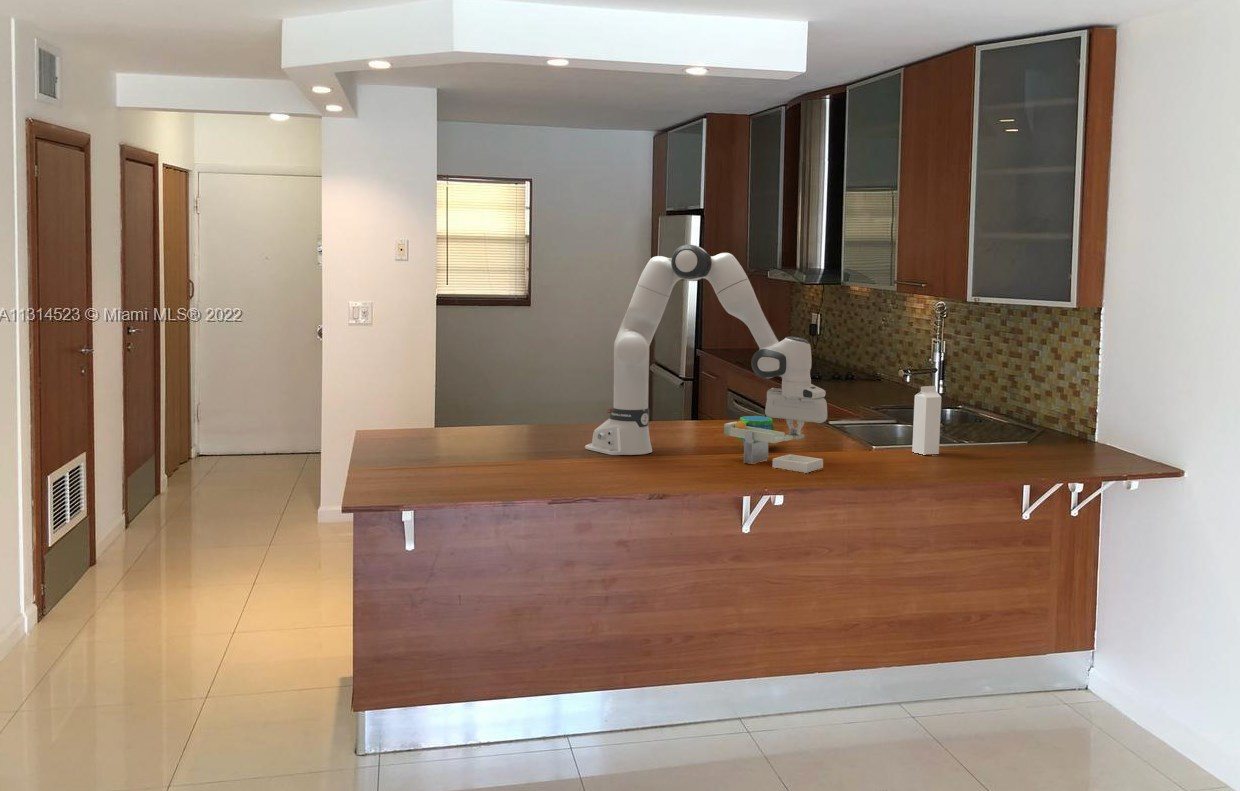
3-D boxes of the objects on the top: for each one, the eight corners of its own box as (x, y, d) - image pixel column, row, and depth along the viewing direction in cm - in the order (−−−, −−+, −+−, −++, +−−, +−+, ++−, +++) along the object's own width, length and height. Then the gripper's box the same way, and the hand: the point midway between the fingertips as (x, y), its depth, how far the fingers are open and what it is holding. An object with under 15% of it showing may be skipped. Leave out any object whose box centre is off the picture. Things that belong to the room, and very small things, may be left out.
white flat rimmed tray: (772, 468, 328) (772, 458, 328) (789, 463, 335) (789, 454, 335) (806, 473, 321) (806, 463, 320) (822, 468, 328) (823, 459, 328)
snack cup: (762, 444, 369) (763, 414, 368) (784, 448, 361) (785, 418, 359) (726, 448, 361) (727, 417, 359) (747, 453, 352) (748, 422, 351)
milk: (938, 455, 352) (942, 387, 349) (923, 456, 350) (927, 387, 347) (926, 451, 358) (930, 384, 355) (911, 453, 355) (915, 385, 352)
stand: (743, 463, 335) (744, 432, 333) (759, 459, 342) (760, 428, 340) (752, 465, 333) (752, 433, 332) (767, 460, 340) (768, 429, 338)
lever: (723, 434, 340) (724, 423, 340) (751, 428, 352) (751, 418, 352) (778, 444, 328) (778, 432, 327) (804, 437, 340) (805, 426, 339)
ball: (732, 432, 340) (732, 420, 339) (738, 431, 342) (739, 419, 342) (742, 433, 337) (742, 422, 337) (748, 432, 340) (748, 420, 340)
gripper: (761, 388, 341) (760, 431, 343) (820, 393, 329) (818, 439, 330) (772, 386, 346) (771, 429, 348) (830, 391, 333) (829, 436, 335)
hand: (795, 434), depth 339 cm, fingers closed
